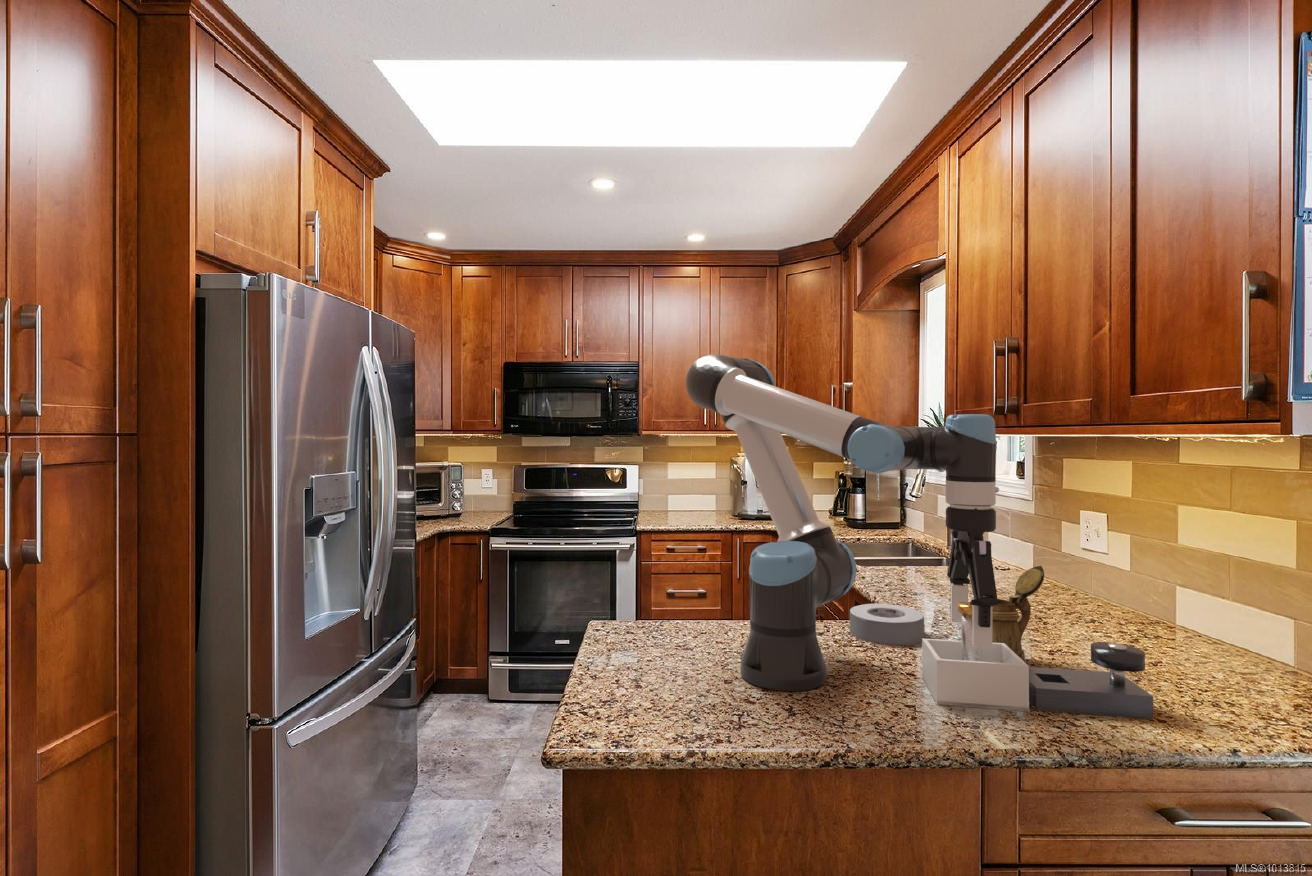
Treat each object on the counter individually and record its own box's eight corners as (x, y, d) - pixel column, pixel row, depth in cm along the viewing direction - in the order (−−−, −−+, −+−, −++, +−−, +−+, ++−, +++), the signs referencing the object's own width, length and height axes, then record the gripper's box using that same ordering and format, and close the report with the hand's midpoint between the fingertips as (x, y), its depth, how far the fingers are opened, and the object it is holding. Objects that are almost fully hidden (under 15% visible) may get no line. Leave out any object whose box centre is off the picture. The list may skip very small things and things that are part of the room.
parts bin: (937, 704, 100) (936, 660, 101) (922, 678, 112) (922, 638, 112) (1029, 711, 98) (1028, 665, 98) (1004, 684, 109) (1004, 643, 109)
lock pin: (961, 693, 103) (961, 607, 103) (955, 684, 107) (954, 601, 107) (988, 695, 102) (987, 608, 103) (981, 686, 106) (980, 602, 106)
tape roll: (875, 649, 129) (875, 624, 129) (836, 627, 143) (836, 605, 144) (940, 643, 132) (939, 619, 132) (896, 623, 147) (895, 601, 147)
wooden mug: (1059, 666, 118) (1058, 570, 118) (989, 667, 117) (988, 571, 117) (1028, 650, 127) (1027, 561, 127) (963, 652, 126) (962, 562, 126)
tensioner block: (1036, 710, 98) (1036, 649, 98) (1014, 686, 108) (1013, 631, 108) (1161, 720, 95) (1160, 657, 95) (1126, 694, 104) (1125, 637, 104)
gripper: (1022, 515, 92) (1021, 660, 92) (973, 500, 116) (973, 614, 116) (966, 514, 94) (966, 656, 94) (930, 499, 118) (929, 612, 118)
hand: (970, 633), depth 105 cm, fingers open, 13 cm apart
